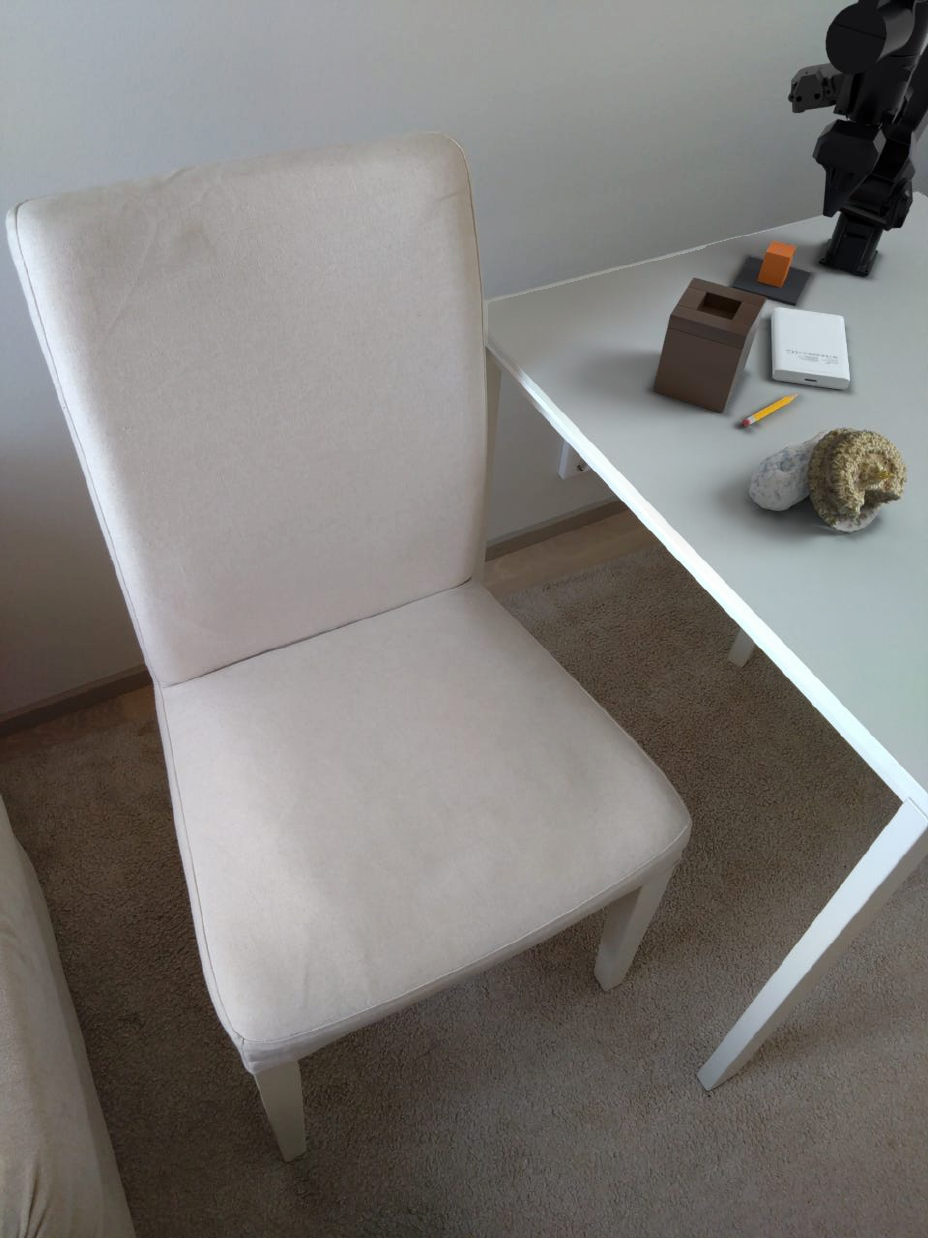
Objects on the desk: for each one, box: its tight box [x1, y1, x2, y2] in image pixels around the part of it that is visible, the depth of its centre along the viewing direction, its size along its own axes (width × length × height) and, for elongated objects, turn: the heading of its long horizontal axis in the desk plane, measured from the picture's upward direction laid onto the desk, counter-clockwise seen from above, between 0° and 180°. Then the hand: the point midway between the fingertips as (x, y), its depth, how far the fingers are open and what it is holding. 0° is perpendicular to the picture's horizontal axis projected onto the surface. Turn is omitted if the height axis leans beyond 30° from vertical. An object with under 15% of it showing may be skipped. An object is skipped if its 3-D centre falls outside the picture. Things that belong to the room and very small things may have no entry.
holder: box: [652, 276, 768, 414], centre depth 97 cm, size 8×8×10 cm
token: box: [757, 240, 797, 288], centre depth 113 cm, size 3×3×4 cm
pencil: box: [742, 393, 798, 428], centre depth 98 cm, size 1×9×1 cm, turn 128°
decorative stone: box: [748, 429, 835, 512], centre depth 89 cm, size 13×7×5 cm, turn 124°
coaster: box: [731, 255, 811, 306], centre depth 114 cm, size 8×8×1 cm
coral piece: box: [807, 427, 908, 533], centre depth 84 cm, size 10×10×5 cm
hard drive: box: [770, 306, 851, 390], centre depth 104 cm, size 2×8×12 cm
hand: (837, 198), depth 104 cm, fingers open, 9 cm apart
